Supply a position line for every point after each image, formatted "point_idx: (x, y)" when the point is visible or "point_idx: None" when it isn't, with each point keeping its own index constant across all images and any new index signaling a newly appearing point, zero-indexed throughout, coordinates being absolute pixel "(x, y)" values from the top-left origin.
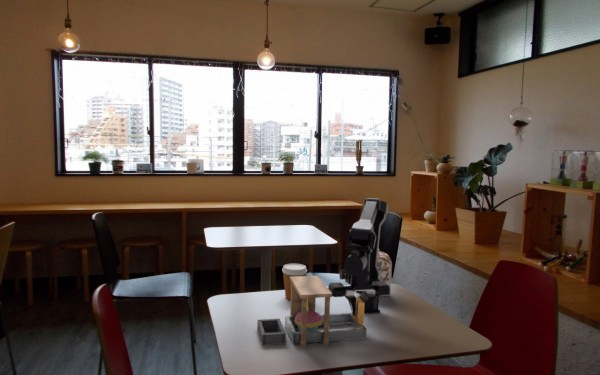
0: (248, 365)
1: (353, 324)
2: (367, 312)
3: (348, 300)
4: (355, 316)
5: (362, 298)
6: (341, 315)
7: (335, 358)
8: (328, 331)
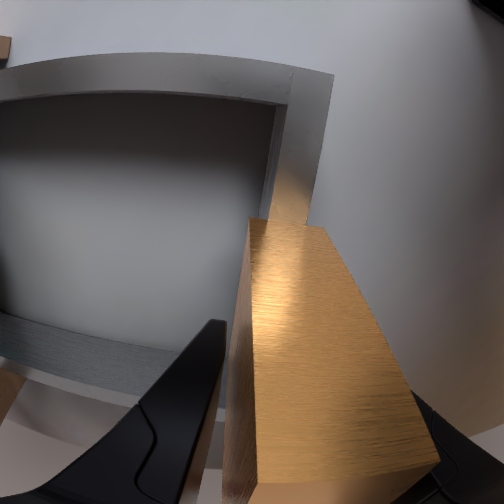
0: None
1: (262, 202)
2: (498, 17)
3: (90, 468)
4: (233, 346)
5: (428, 489)
6: (165, 90)
7: (68, 424)
8: (9, 407)
